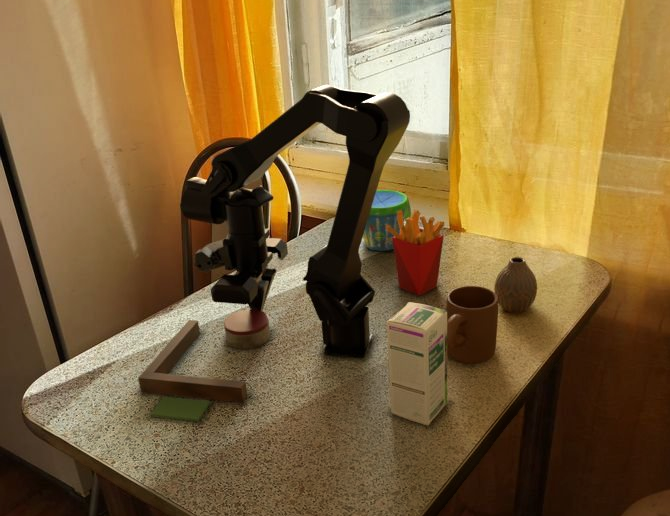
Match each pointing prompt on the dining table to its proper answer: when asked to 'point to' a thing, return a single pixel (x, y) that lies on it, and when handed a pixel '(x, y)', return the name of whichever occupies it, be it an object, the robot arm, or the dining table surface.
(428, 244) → the french fries
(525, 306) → the vase
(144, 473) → the dining table surface
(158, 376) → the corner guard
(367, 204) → the robot arm
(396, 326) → the syrup box
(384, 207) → the snack cup
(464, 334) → the mug
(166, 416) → the green rag
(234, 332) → the tin
